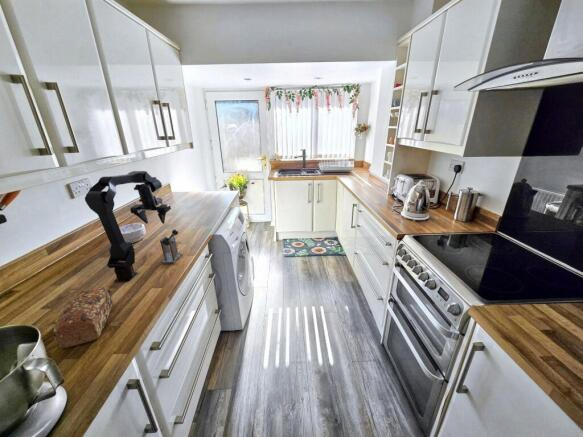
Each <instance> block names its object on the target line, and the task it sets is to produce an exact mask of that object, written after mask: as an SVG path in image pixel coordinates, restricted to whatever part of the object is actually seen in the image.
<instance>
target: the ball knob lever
mask: <svg viewBox="0 0 583 437" xmlns="http://www.w3.org/2000/svg"><path fill="white" fill-rule="evenodd" d="M177 235H179V230H178V229H175V228H174V229H173V230H172V231H171V235H170V236H169V237H167V238H166V239H165V241H164V243H165V245H169V242H168V240H169V239H170V238H171V237H173V236H174V237H175V236H177Z"/></svg>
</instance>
